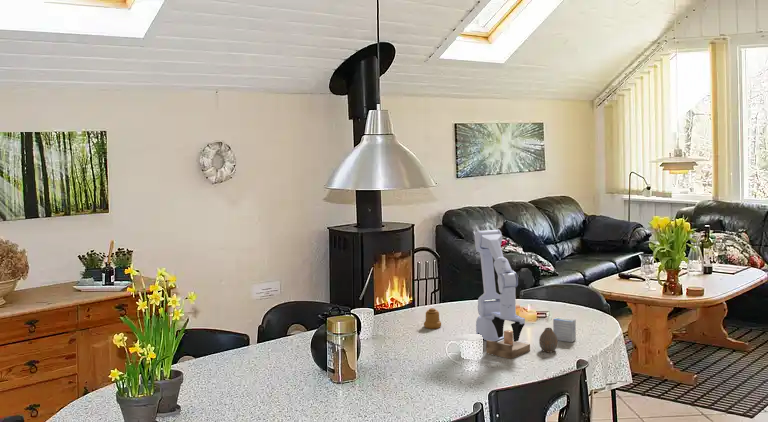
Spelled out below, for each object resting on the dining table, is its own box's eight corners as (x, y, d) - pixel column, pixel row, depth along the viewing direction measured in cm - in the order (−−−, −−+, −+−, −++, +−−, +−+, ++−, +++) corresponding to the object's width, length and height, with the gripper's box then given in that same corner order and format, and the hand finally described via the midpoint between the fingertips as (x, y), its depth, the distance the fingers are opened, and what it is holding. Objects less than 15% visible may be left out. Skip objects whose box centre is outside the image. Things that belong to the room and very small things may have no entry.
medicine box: (576, 339, 312) (576, 318, 311) (572, 342, 308) (572, 321, 307) (556, 337, 316) (556, 316, 315) (553, 340, 313) (553, 319, 312)
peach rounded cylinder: (502, 345, 298) (502, 331, 298) (507, 343, 301) (507, 329, 300) (509, 347, 296) (509, 333, 295) (514, 345, 298) (514, 331, 298)
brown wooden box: (486, 353, 298) (486, 340, 297) (505, 345, 307) (505, 333, 306) (510, 358, 290) (510, 345, 289) (530, 350, 300) (529, 337, 299)
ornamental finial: (426, 324, 341) (443, 325, 339) (421, 328, 334) (438, 329, 332) (426, 306, 340) (443, 307, 338) (421, 310, 333) (438, 311, 331)
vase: (557, 353, 295) (558, 331, 294) (539, 353, 296) (539, 330, 295) (557, 348, 302) (557, 326, 301) (539, 347, 303) (539, 325, 302)
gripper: (529, 305, 293) (530, 340, 295) (499, 299, 304) (500, 333, 306) (518, 308, 289) (518, 344, 290) (487, 302, 300) (488, 337, 301)
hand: (508, 339), depth 298 cm, fingers open, 7 cm apart
